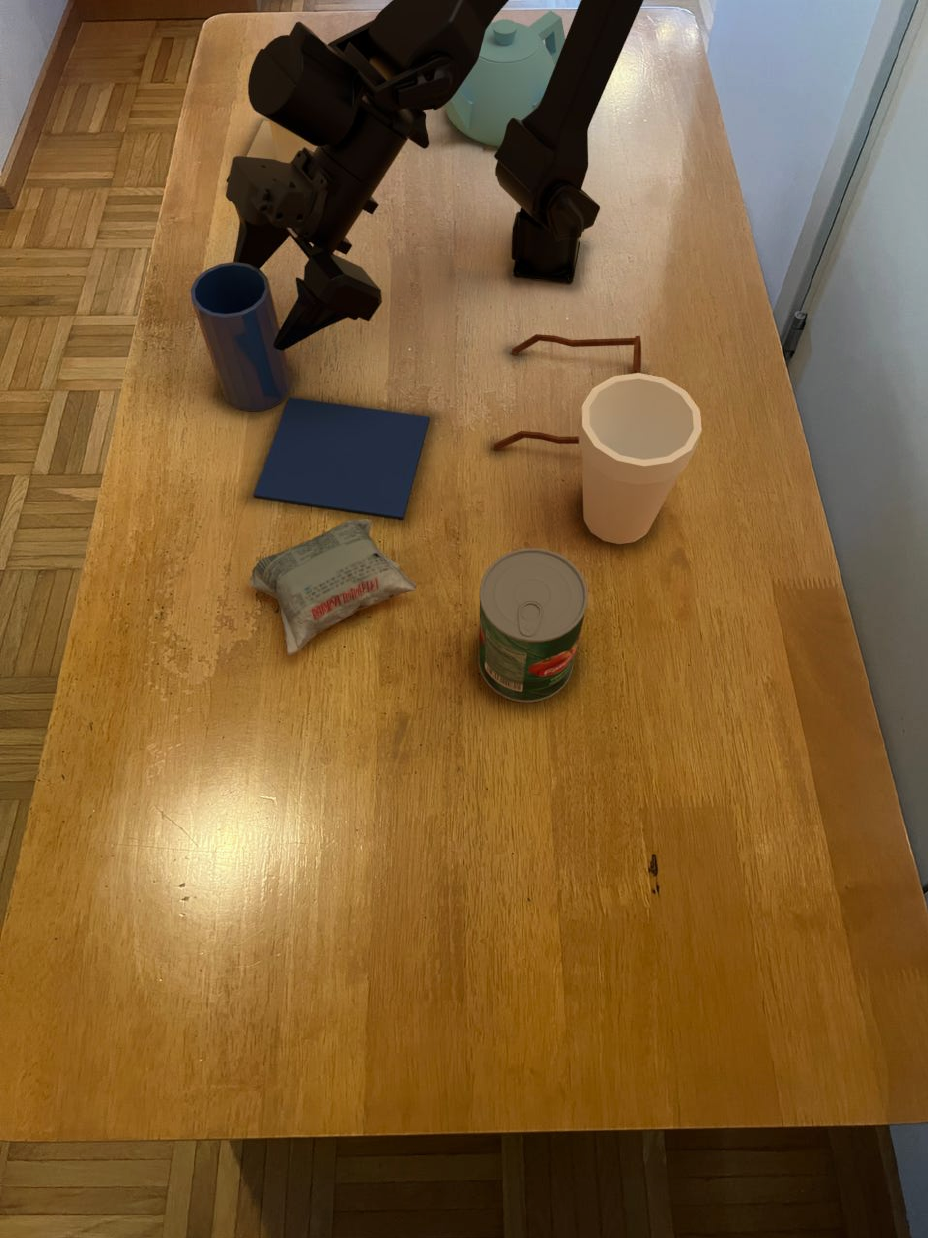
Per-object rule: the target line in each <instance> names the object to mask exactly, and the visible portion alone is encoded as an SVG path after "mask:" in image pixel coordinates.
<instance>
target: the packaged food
mask: <svg viewBox="0 0 928 1238" xmlns="http://www.w3.org/2000/svg"><path fill="white" fill-rule="evenodd" d="M372 524H373V522H372V520H371V518H359V519H351V520H345V521H344V522H342V523H340V524H338V525H336V526H335V527H333V528H331V529H329V530H327V531H324V532H323V533H321V534H319V535H317V536H316V537H313V538H312V539H308V540H306V541H303V542H301V543H299V544H296V545H294V546H292V547H290V548H288V549H285V550H283V551H281V552H278V553H275V554H272V555H269V556H265V557H261V559H259V561H258V562H257V563H256V565H255V566H254V567H253V569H252V570H251V573H252V575H251V577H250V578H249V586H250V587H251V588H252V589H253V591H260V592H262V593H264V594H266V595H268V596H270V597H272V598H273V599H275V600H276V601H277V603H278V605H279V608H280V614H281V621H282V625H283V632H284V637H285V647H286V653H287V655H288V656H292V655H295V654H297V653H298V652H300V651H301V650H302V649H303V648H304V647H305V645H307V644H308V643H309V642H310V641H311V640H312V639H313V638H315V637H316V636H317V635H319V634H321V633H322V632H324V631H326V630H327V629H329V628H331V627H332V626H334V625H336V624H338V623H339V622H341V621H343V620H345V619H347V618H349V617H351V616H353V615H354V614H355V613H357V612H359V611H361V610H364V609H367V608H371V607H373V606H375V605H377V604H380V603H383V602H385V601H387V600H390V599H393V598H395V597H398V596H400V595H405V594H406V593H410V592H414V591H417V584H416V583H415V582H414V581H413V579H411V578H409V577H408V576H407V575H406V574H405V572H403V571H401V569H399V568H400V564H399V563H397V562H395V561H394V560H391V558H389V557H388V556H387V555H386V554H385V553H383V552H382V550H381V549H379V547H378V546H377V545H376V543H375V541H374V539H373V538H372V537H371V536H370V532H371V526H372Z"/></svg>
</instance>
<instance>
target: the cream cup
mask: <svg viewBox="0 0 928 1238" xmlns="http://www.w3.org/2000/svg"><path fill="white" fill-rule="evenodd" d="M268 121H269V122H270V127H271V132H272V137H273V142H274V147H275V152H276V157H277V161H280V162H285V163H290V162H291V161H292V160H293V159H294V157H295V155H296V154H297V152H298V151H300V150H301V151H302V149H303V147H305V148H307V149H309V150H311V151H312V152H314V151H315V150H316V148H317V146H314V145H312V144H311V143H309V142H307V141H305V140H304V139H302V138H300V137H299V136H297V135H295V134H293V133H292V132H290V131H288V130H287V129H285V128H283V127H281V126H280V125H278V124H276V123H275V122H273V121H271V120H269V119H268Z"/></svg>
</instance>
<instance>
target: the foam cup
mask: <svg viewBox="0 0 928 1238" xmlns="http://www.w3.org/2000/svg"><path fill="white" fill-rule="evenodd" d="M580 408H581V409H580V415H579V422H578V436H579V444H578V447H579V448H580V450H581V475H582V477H581V478H582V482H581V483H582V512H583V514H582V515H583V522H584V523H585V525H586V526H587V529H588V530H589V532H590V533H591V534H593V535H595V536H596V537H597V538H599V539H600V540H602V541H603V542H608V543H612V544H616V545H622V544H630V543H635V542H636V541H638V540H640V539H642V538H643V537H644V536H646V535H647V534H648V533H649V531H650V530H651V528H652V526H653V524H654V522H655V520H656V518H657V516H658V514H659V512H660V510H661V509H662V507H663V505H664V504H665V502H666V500H667V498H668V496H669V495H670V493H671V492H672V488H674V485H675V484H676V481H677V480H678V478H679V476H680V474H681V473H682V472H683V471H684V470H685V469H687V466H688V465H689V463H690V461H691V459H692V457H693V455H694V453H695V452H696V449H697V447H698V443H699V440H700V437H701V434H702V431H703V429H702V418H701V410H700V408H699V407H698V405H697V404H696V402H695V401H694V400H693V398H692V397H691V395H690V394H689V393H688V391H687V390H685V389H684V388H682V387H681V386H679V385H677V384H675V383H674V382H672V381H670V380H668V379H667V378H665V377H660V376H655V375H650V374H646V373H641V372H640V373H635V374H633V373H628V374H622V375H614V376H611V377H610V378H608V379H606V380H605V381H603V382H600V383H599V384H598V385H596V386H594V387H593V388H592V389H591V390H590V392H589V394H588V396H587V397H586V398H585V400H584V402H583V403H582V405H581V407H580Z"/></svg>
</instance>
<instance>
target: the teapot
mask: <svg viewBox="0 0 928 1238" xmlns="http://www.w3.org/2000/svg"><path fill="white" fill-rule="evenodd" d="M565 39H566V36H565V29H564V24H563V17H562V16H560V15H559V14H557V13H556V12H553V11H552V10H548V12H546V13H545V14H543V15H542V16H540V17H539V18H538V19H536V21H533V23H531V24H530V25H525V24H523V23H520V22H516V21H514V20H511V19H508V18H507V19H505V18H503V19H499V20H496V21H492V22H491V23H490V25H489V26H488V28H487V29H486V32H485V36H484V39H483V43H482V47H481V51H480V54H479V58H478V61H477V63H476V64H475V66H474V67H473V69H472V70H471V71H470V73H469V74H468V76H467V77H466V79H465V80H464V82H463V83H462V85H461V86H460V88H459V89H458V91H457V92H456V94H455V95H454V96H453V98H452V99H451V100H450V101H449V102H447V103H446V104H445V105H444V106H443V107H444V109H445V113H446V115H447V117H448V120H449V121H450V122H451V123H452V124H453V125H454V126H455V128H457V130H459V131H460V132H461V133H462V134H463V135H465V136H466V137H468V138H469V139H471V140H474V141H476V142H478V143H481V144H484V145H485V146H488V147H489V146H490V147H499V148H500V145H501V143H502V141H503V138H504V135H505V131H506V127H507V124H508V122H509V121H510V120H511V118H516V119H519V120H522V119H524V118H525V117H526V116H527V115H528V114H530V113H531V112H532V111H533V110H535V109H536V108H537V107H538V106H539V104H540V102H541V100H542V98H543V95H544V93H545V90H546V88H547V85H548V83H549V80H550V78H551V75H552V72H553V70H554V67H555V65H556V62H557V60H558V57H559V55H560V52H561V50H562V47H563V44H564V42H565Z"/></svg>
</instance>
